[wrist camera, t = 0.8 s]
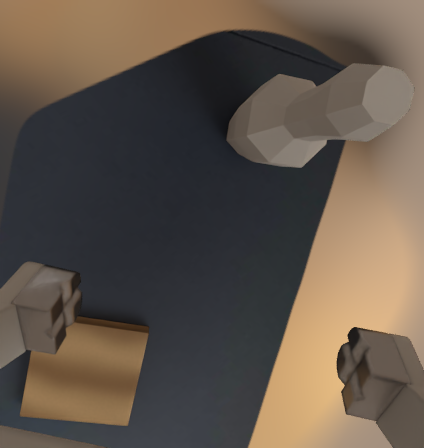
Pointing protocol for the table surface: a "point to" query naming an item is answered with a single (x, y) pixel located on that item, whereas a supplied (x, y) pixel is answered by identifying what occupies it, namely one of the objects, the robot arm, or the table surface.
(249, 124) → the low poly bottle
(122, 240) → the table surface
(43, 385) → the coaster
